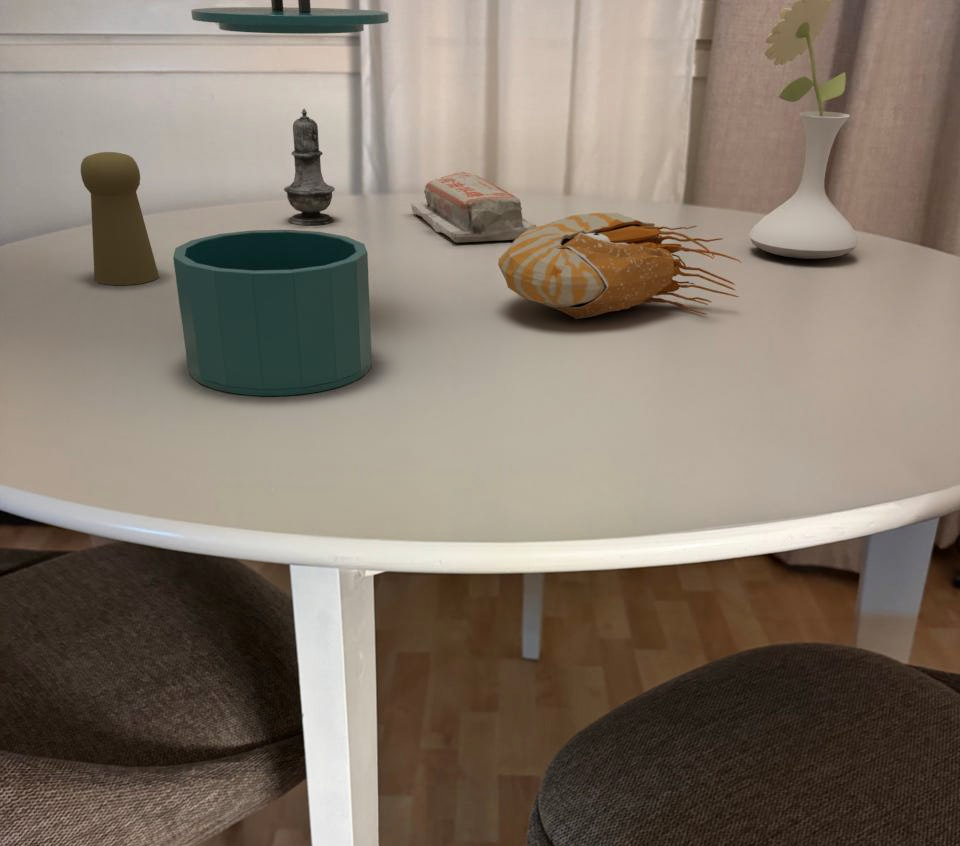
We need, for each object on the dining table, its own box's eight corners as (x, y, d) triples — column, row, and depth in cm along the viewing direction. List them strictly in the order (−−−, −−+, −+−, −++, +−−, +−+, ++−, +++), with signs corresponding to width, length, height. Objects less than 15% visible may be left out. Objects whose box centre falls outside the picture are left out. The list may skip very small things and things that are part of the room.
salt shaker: (304, 227, 123) (296, 112, 116) (276, 219, 127) (267, 107, 120) (346, 221, 126) (340, 109, 120) (318, 213, 130) (311, 104, 123)
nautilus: (730, 300, 101) (739, 357, 89) (506, 275, 102) (485, 327, 90) (748, 213, 96) (761, 260, 84) (513, 188, 98) (492, 231, 85)
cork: (110, 268, 105) (90, 147, 100) (168, 271, 105) (152, 149, 99) (83, 283, 100) (60, 156, 95) (144, 286, 100) (125, 159, 94)
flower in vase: (815, 240, 121) (861, -16, 108) (876, 263, 112) (934, -14, 99) (714, 247, 118) (748, -18, 104) (769, 271, 109) (813, -15, 95)
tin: (230, 408, 73) (215, 282, 68) (164, 355, 83) (147, 241, 78) (402, 376, 79) (399, 258, 75) (323, 330, 89) (316, 223, 84)
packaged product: (540, 194, 116) (453, 199, 114) (538, 241, 119) (453, 246, 116) (487, 168, 131) (409, 171, 128) (487, 210, 133) (410, 214, 131)
